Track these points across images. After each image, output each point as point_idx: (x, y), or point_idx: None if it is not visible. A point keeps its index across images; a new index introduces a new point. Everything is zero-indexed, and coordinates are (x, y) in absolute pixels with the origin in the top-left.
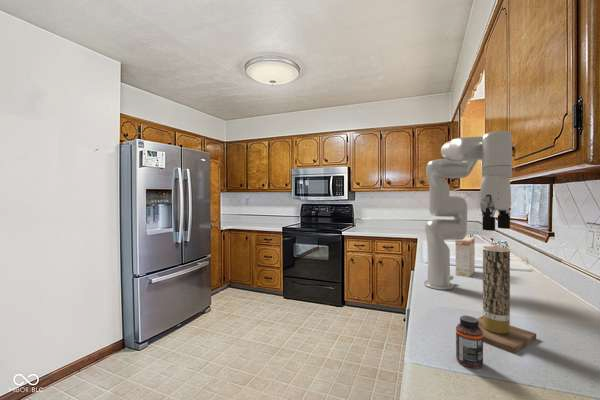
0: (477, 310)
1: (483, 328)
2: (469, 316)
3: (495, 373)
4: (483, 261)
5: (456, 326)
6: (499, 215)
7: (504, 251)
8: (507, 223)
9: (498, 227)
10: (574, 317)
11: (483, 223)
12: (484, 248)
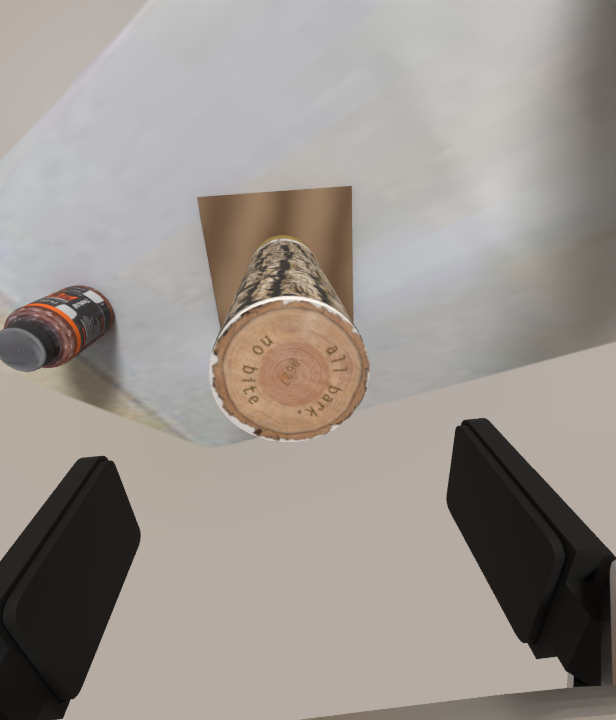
0: (434, 117)
1: (261, 243)
2: (32, 343)
3: (108, 356)
4: (237, 297)
5: (11, 313)
6: (583, 566)
7: (258, 432)
8: (472, 542)
9: (458, 428)
10: (588, 315)
11: (43, 522)
12: (224, 332)
